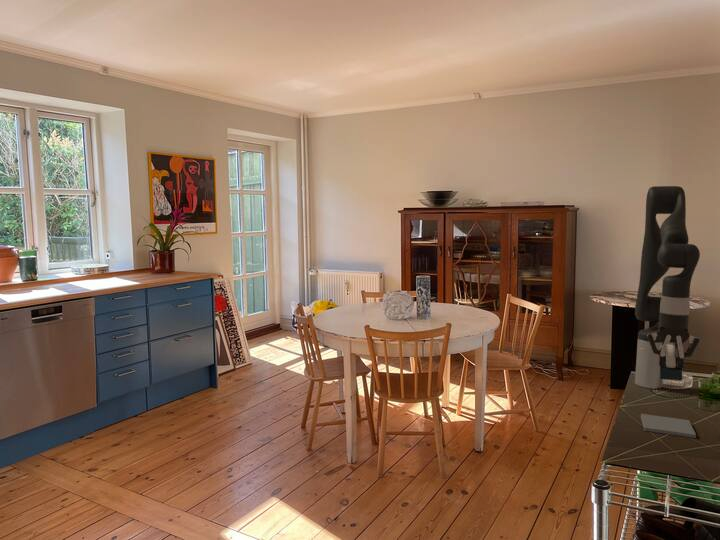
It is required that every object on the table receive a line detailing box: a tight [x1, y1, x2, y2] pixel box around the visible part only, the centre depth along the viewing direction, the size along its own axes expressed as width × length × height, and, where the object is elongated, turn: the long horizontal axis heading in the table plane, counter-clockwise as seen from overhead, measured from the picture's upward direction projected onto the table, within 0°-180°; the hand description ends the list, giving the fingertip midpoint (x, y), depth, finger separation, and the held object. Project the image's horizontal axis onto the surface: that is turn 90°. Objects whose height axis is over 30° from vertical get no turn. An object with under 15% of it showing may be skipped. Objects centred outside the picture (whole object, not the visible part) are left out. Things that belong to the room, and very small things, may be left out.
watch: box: [660, 342, 683, 381], centre depth 160 cm, size 6×8×11 cm
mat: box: [640, 413, 697, 439], centre depth 162 cm, size 12×13×1 cm
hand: (670, 368), depth 161 cm, fingers closed on watch, 3 cm apart
